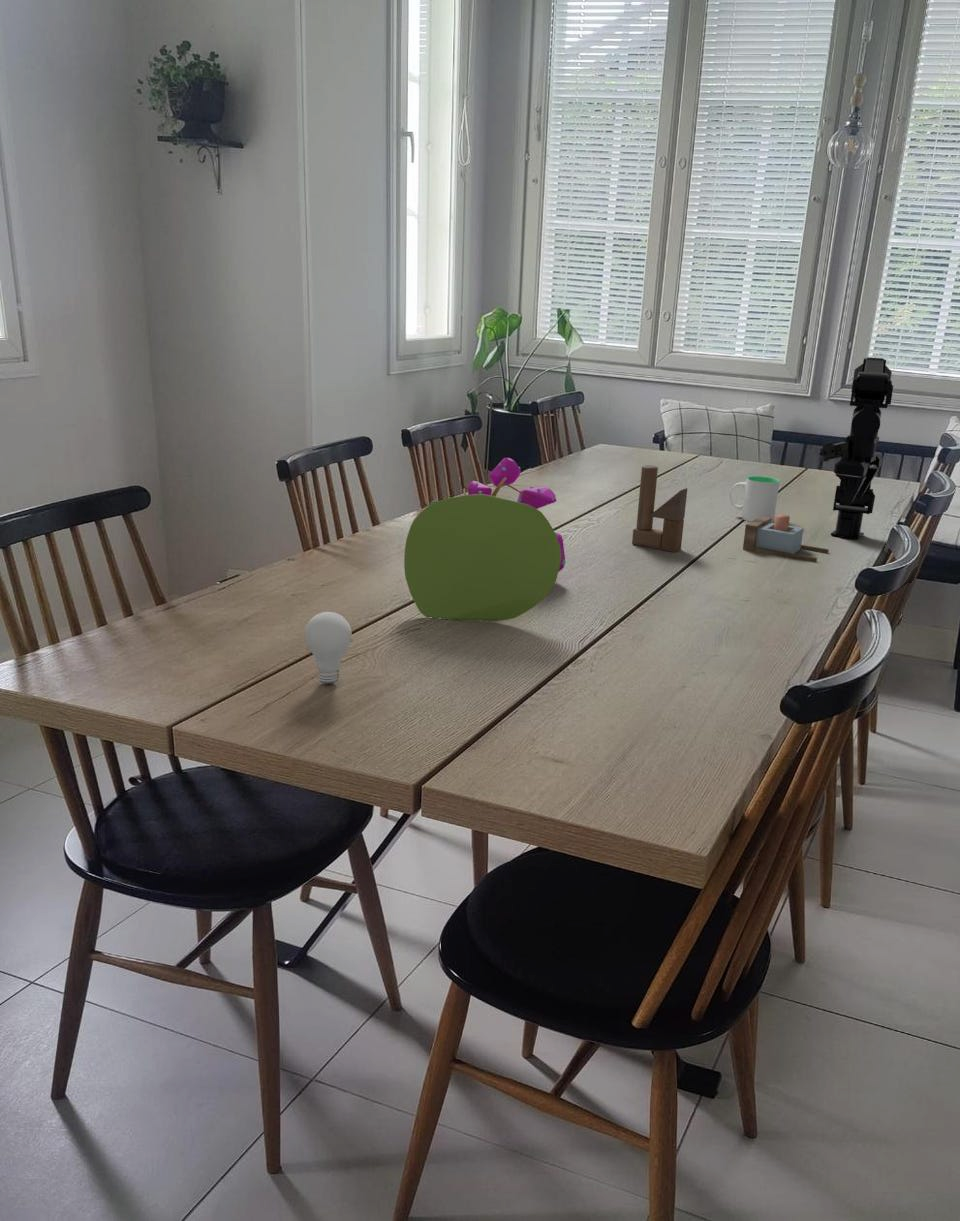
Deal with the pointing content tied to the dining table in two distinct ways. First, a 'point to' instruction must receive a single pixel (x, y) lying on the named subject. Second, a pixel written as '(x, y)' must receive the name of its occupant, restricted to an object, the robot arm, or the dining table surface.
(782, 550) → the socket block
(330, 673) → the light bulb
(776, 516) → the pink rectangular block
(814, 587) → the dining table surface
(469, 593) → the green pad purple flowers
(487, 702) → the dining table surface
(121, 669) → the dining table surface
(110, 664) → the dining table surface
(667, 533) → the wooden block
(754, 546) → the track wall
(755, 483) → the mug
